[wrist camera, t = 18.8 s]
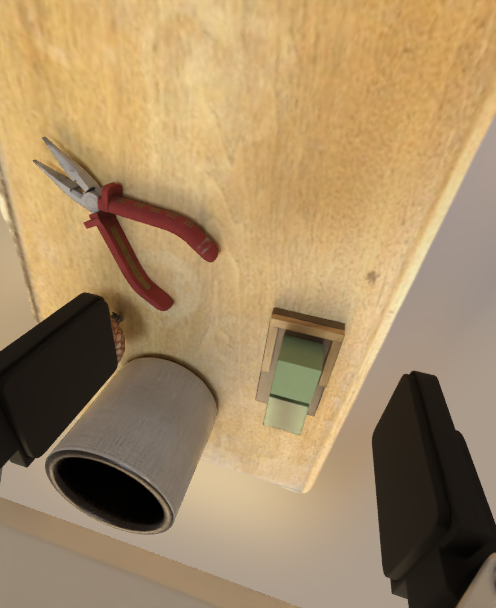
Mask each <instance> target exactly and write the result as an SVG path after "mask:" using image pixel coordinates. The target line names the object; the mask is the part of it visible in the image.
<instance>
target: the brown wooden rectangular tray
mask: <svg viewBox="0 0 496 608" xmlns="http://www.w3.org/2000/svg"><path fill="white" fill-rule="evenodd" d="M284 335H288V336H292V337H297V338H301V339H305V340H309V341H313V342H317V343H321V344H323V359H322V372H321V375H320V378H319V381H318V384H317V387H316V390H315V393H314V396H313V399H312V402H311V404H308V403H304V402H301V401H297V400H293V399H289V398H286V397H282V396H278V395H275V394H271V393H270V392H271V388H272V383H273V379H274V374H275V370H276V366H277V361H278V357H279V353H280V349H281V345H282V341H283V336H284ZM344 336H345V324H343V323H339V322H334V321H330V320H326V319H321V318H317V317H313V316H308V315H304V314H300V313H295V312H291V311H287V310H283V309H278V308H274V309H273V312H272V317H271V321H270V326H269V331H268V336H267V341H266V347H265V352H264V357H263V362H262V367H261V373H260V378H259V384H258V389H257V394H256V399H255V400H256V401H260V402H263V403H267V408H266V413H265V417H264V422H263V425H265V426H269V427H272V428H276V429H279V430H283V431H286V432H290V433H293V434H297V435H300V433H301V430H302V427H303V424H304V422H305V419H306V416H307V415H311V416H315V413H316V410H317V407H318V405H319V402H320V399H321V396H322V393H323V391H324V388H325V387H326V386H327V383H328V381H329V378H330V375H331V372H332V370H333V367H334V364H335V361H336V358H337V356H338V353H339V350H340V347H341V345H342V342H343V339H344Z"/></svg>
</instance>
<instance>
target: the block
mask: <svg viewBox="0 0 496 608" xmlns="http://www.w3.org/2000/svg"><path fill="white" fill-rule="evenodd" d="M322 359H323V344H321V343H317V342H313V341H309V340H305V339H301V338H297V337H292V336H288V335H284V336H283V341H282V345H281V349H280V353H279V357H278V361H277V366H276V370H275V374H274V379H273V383H272V388H271V392H270V393H271V394H275V395H278V396H282V397H286V398H289V399H293V400H297V401H301V402H304V403H308V404H311V402H312V399H313V396H314V393H315V390H316V387H317V384H318V381H319V378H320V375H321V372H322Z"/></svg>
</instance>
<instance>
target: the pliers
mask: <svg viewBox="0 0 496 608" xmlns="http://www.w3.org/2000/svg"><path fill="white" fill-rule="evenodd" d="M42 139H43V140H44V141H45V143H46V144H47V146H48V147H49V149H50V150H51V152H52V153H53V155H54V156H55V158H56V159H57V161H58V162H59V163H60V165H61V166H62V168H63V169H64V171H65V172H66V173H67V174H68V176H69V177H70V178H71V179H72V180H71V179H69V178H68V177H66V176H64V175H62V174H60V173H59V172H57V171H55V170H53V169H52V168H50V167H48V166H46V165H44V164H43V163H41V162H39V161H37V160H33V162H34V163H35V164H36V165H37V166H38V167H39V168H40V169H41V170H42V171H43V172H44V173H45V174H46V175H47V176H48V177H49V178H50V179H51V180H52V181H53V182H54V183H55V184H56V185H57V186H58V187H59V188H60V189H61V190H62V191H63V192H64V193H65V194H66V195H68V196H69V197H70V198H71V199H73V200H74V201H75V202H77V203H78V204H80V205H81V206H83V207H84V208H86V209H87V210H89V211H91V212H95V213H92V214H90V215H89V217H90V219H91V220H89V221H86V222H84V225H85V226H86V228H91V227H94V226H97V227H98V229H99V231H100V233H101V235H102V237H103V238H104V240H105V242H106V244H107V246H108V248H109V249H110V251H111V253H112V255H113V257H114V259H115V260H116V262H117V264H118V266H119V268H120V270H121V271H122V273H123V275H124V277H125V278H126V280H127V281H128V283H129V284H130V286H131V287H132V288H133V289H134V291H135V292H136V293H137V294H139V295H140V296H141V297H142V298H144V299H145V300H146V301H147V302H149V303H150V304H151V305H153V306H154V307H155V308H156V309H158V310H160V311H166V310H168V309H169V308H170V307H171V306H172V304H173V301H172V299H171V297H170V296H169V295H168V294H167V293H165V292H164V291H163V290H162V289H160V288H159V287H158V286H157V285H155V284H154V283H153V282H152V281H151V280H150V279H149V278H148V277H147V275H146V274H145V273H144V271H143V269H142V268H141V266H140V264H139V262H138V260H137V258H136V256H135V254H134V252H133V250H132V249H131V247H130V245H129V243H128V241H127V239H126V237H125V235H124V233H123V231H122V229H121V227H120V225H119V223H118V221H117V219H116V216H115V214H116V215H119V216H122V217H125V218H129V219H132V220H135V221H138V222H142V223H145V224H148V225H151V226H155V227H158V228H161V229H164V230H167V231H169V232H171V233H173V234H175V235H177V236H179V237H180V238H182V239H183V240H184V241H186V242H187V244H188V245H189V246H191V247H192V248H193V249H194V250H195V251H196V252H197V253H198V254H199V255H200V256H201V257H202V258H203V259H204V260H206V261H208V262H213V261H214V260H215V259H216V258H217V256H218V248H217V247H216V245H215V244H214V243H213V242H212V241H211V240H210V239H209V238H208V237H207V236H206V235H205V234H204V233H203V232H202V231H201V230H200V229H199V228H198V227H197V226H196V225H195V224H194V223H192V222H191V221H190V220H188V219H186V218H184V217H182V216H180V215H177V214H175V213H172V212H169V211H166V210H162V209H159V208H156V207H152V206H149V205H146V204H142V203H139V202H136V201H132V200H129V199H126V198H123V197H122V187H121V185H120V184H117V183H110V184H107V185H105V186H104V187H103V188H101V187H100V186H99V185H98V183H97V182H96V181H95V180H94V179H93V178H92V177H91V176H90V175H89V174H88V173H87V171H85V170H84V169H83V168H82V167H81V166H79V165H78V164H77V163H76V162H75V161H73V160H72V159H71V158H70V157H69V156H67V155H66V154H65V153H64V152H63V151H61V150H60V149H59V148H58V147H57V146H55V145H54V144H53V143H52V142H51V141H49V140H48V139H47V138H46V137H42ZM76 182H77V183H78V184H77V183H76ZM81 188H82V189H83V191H84V193H83V192H82V191H81Z"/></svg>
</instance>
